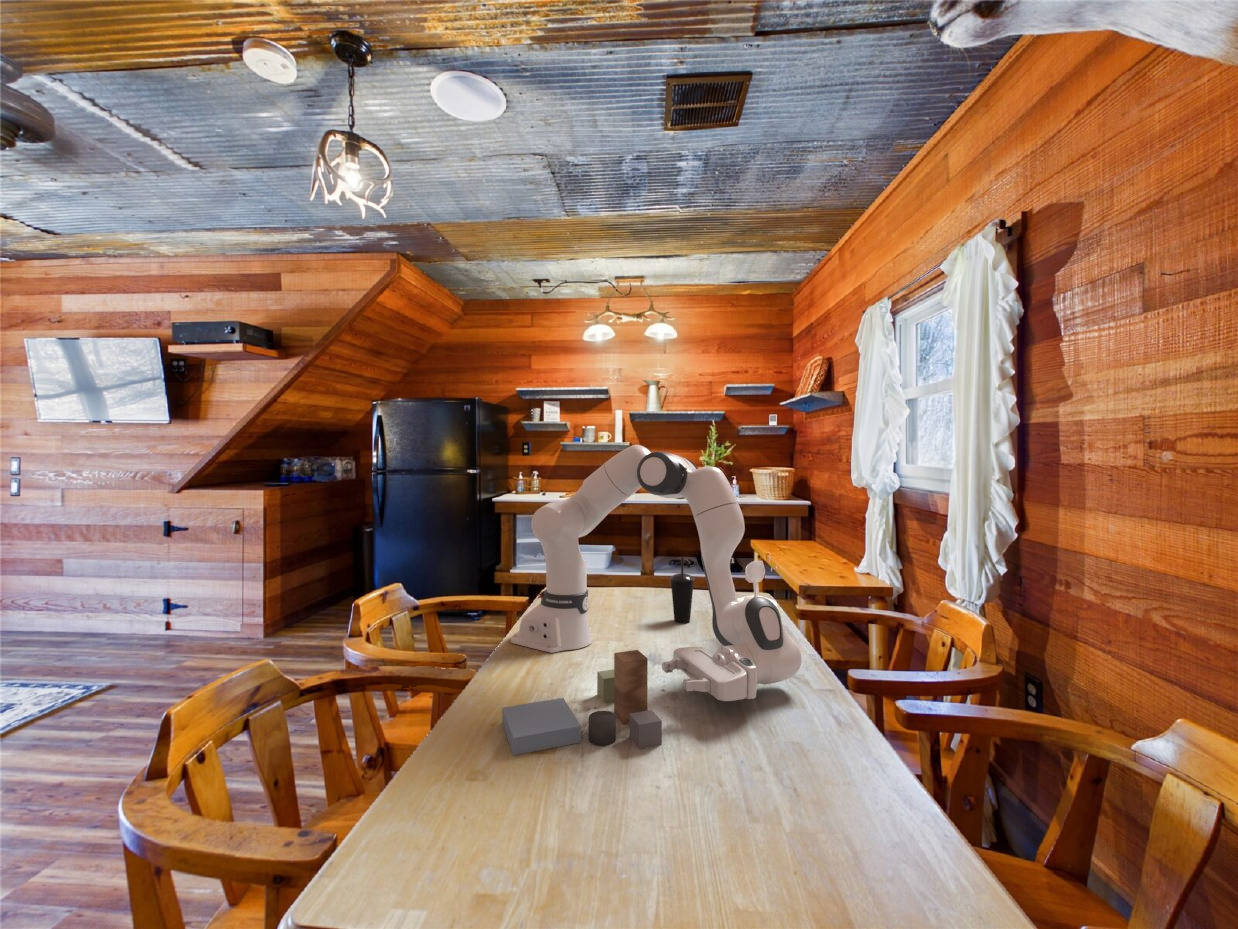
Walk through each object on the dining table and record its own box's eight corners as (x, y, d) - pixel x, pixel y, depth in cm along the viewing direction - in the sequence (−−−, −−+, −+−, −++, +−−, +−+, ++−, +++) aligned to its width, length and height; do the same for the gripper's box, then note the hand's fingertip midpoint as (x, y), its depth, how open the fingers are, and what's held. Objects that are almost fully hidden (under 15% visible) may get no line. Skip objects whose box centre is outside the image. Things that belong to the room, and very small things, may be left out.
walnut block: (623, 724, 103) (623, 661, 103) (614, 713, 108) (614, 653, 108) (647, 720, 105) (647, 658, 105) (637, 708, 110) (637, 649, 109)
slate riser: (513, 755, 92) (513, 738, 92) (502, 723, 103) (502, 707, 103) (580, 742, 97) (580, 725, 97) (563, 712, 108) (563, 697, 108)
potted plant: (778, 644, 148) (779, 552, 148) (735, 641, 150) (735, 551, 150) (775, 629, 160) (775, 545, 160) (734, 627, 163) (735, 544, 162)
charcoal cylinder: (583, 743, 97) (583, 721, 96) (595, 730, 101) (595, 708, 101) (609, 748, 95) (609, 726, 95) (620, 735, 99) (620, 713, 99)
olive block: (603, 702, 112) (603, 679, 112) (597, 695, 116) (597, 671, 116) (621, 699, 114) (621, 676, 114) (614, 692, 118) (614, 669, 117)
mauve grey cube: (638, 750, 94) (639, 725, 94) (629, 737, 98) (629, 713, 98) (661, 745, 96) (661, 720, 96) (651, 733, 100) (651, 709, 100)
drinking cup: (665, 622, 167) (666, 558, 166) (675, 616, 173) (675, 554, 173) (689, 626, 163) (689, 560, 163) (697, 619, 170) (698, 556, 170)
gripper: (707, 637, 124) (652, 644, 119) (760, 670, 105) (698, 680, 100) (706, 664, 125) (652, 672, 120) (760, 702, 105) (698, 714, 100)
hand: (673, 676), depth 110 cm, fingers open, 8 cm apart
